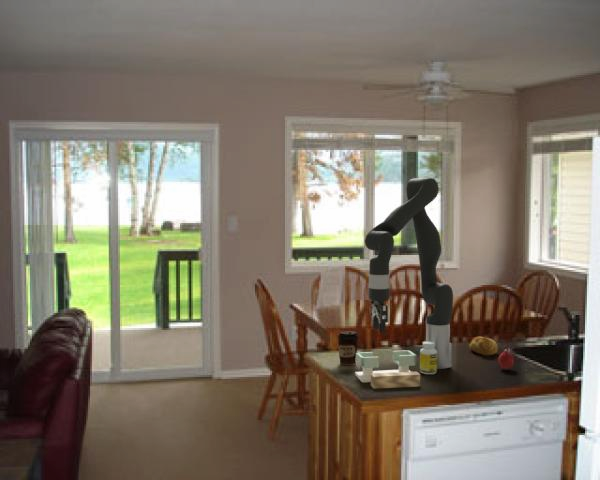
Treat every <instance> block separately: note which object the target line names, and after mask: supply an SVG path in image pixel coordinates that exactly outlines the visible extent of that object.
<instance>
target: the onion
mask: <svg viewBox="0 0 600 480" xmlns="http://www.w3.org/2000/svg"><path fill="white" fill-rule="evenodd" d="M497 361H498V364H499V365H500V367H501V368H502V369H503V370H504V371H507V370H509V369H510V368H512V367H513V365H514V363H515V358H514V355H512V354H511V352H509V351H508V350H507V349H504V351H503V352H501V354H500V355H499V356H498V359H497Z"/></svg>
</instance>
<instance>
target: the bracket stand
mask: <svg viewBox="0 0 600 480" xmlns="http://www.w3.org/2000/svg"><path fill="white" fill-rule="evenodd" d="M355 359H356V360H355V361H356V364H358V365H359V366H360V367H361V368H362V371H355V372H354V376H355V377H356V378H357V379H358V380H359V381H360V382H362V383H371V374H374V373H396V372H412V370H410V367H411V366H413V367H414V366H416V364H417V354H416V353H414V352H412V351H411V350H410V349H409V350H408V349H407V350H404V349H402V350H392V361H393V363H394V364H396V365H397V366H398V369H386V370H385V369H384V370H373V369H374V368H379V367H380V366H379V365H380V364H379V361H380V357H379V356H374V352H373V351H366V352H365V351H364V352H363V351H362V352H361V351H360V352H357V353H356V358H355Z"/></svg>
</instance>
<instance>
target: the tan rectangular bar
mask: <svg viewBox="0 0 600 480" xmlns="http://www.w3.org/2000/svg"><path fill="white" fill-rule="evenodd" d="M370 386H371V387H372V389H392V388H410V387H411V388H412V387H413V388H414V387H415V388H417V387H421V374H420V373H419V372H418V371H411V372H396V373H374V374H371V382H370Z"/></svg>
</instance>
